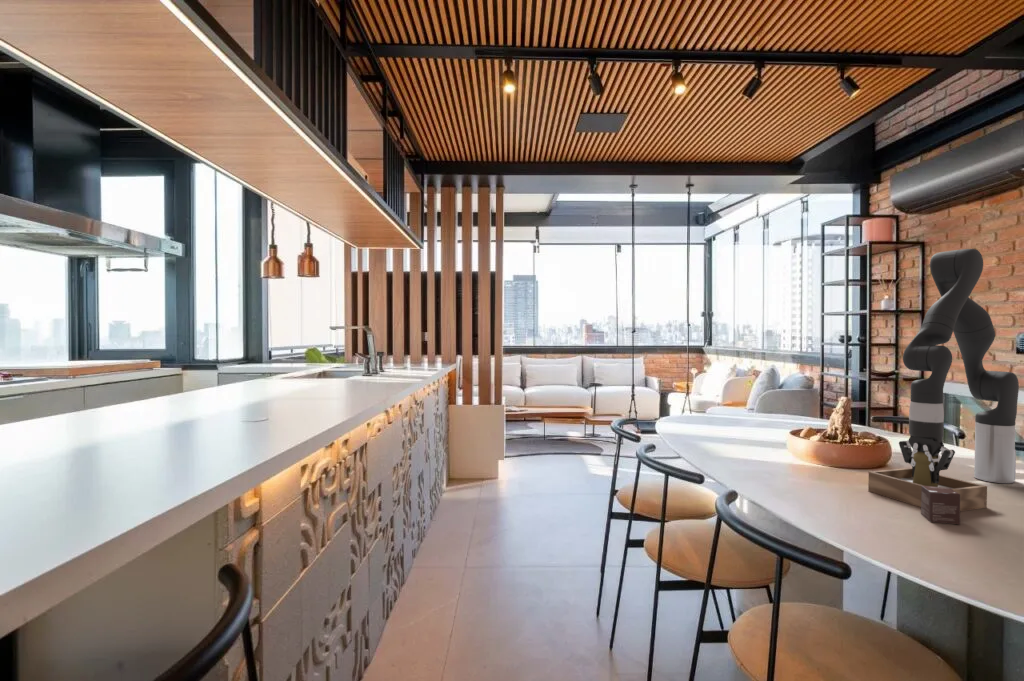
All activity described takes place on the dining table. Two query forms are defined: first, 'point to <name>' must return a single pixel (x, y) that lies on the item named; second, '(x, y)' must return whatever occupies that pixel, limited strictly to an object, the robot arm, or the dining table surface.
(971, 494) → the wooden tray
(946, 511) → the box
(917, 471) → the cork
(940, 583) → the dining table surface
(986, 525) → the dining table surface
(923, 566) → the dining table surface
